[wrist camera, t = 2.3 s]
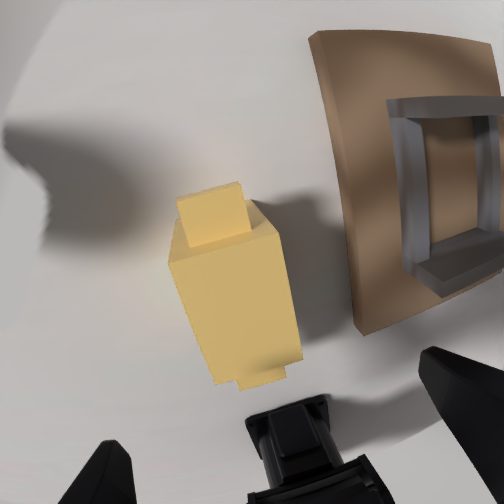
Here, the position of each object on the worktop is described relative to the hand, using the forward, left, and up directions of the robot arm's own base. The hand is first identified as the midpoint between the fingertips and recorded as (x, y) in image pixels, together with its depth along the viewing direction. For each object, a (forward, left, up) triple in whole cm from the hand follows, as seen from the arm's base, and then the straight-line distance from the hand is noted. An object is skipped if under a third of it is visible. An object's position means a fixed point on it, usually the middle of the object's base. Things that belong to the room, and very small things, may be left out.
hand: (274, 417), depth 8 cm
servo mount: (+2, -14, -11) cm, 18 cm away
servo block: (0, 0, -11) cm, 11 cm away
